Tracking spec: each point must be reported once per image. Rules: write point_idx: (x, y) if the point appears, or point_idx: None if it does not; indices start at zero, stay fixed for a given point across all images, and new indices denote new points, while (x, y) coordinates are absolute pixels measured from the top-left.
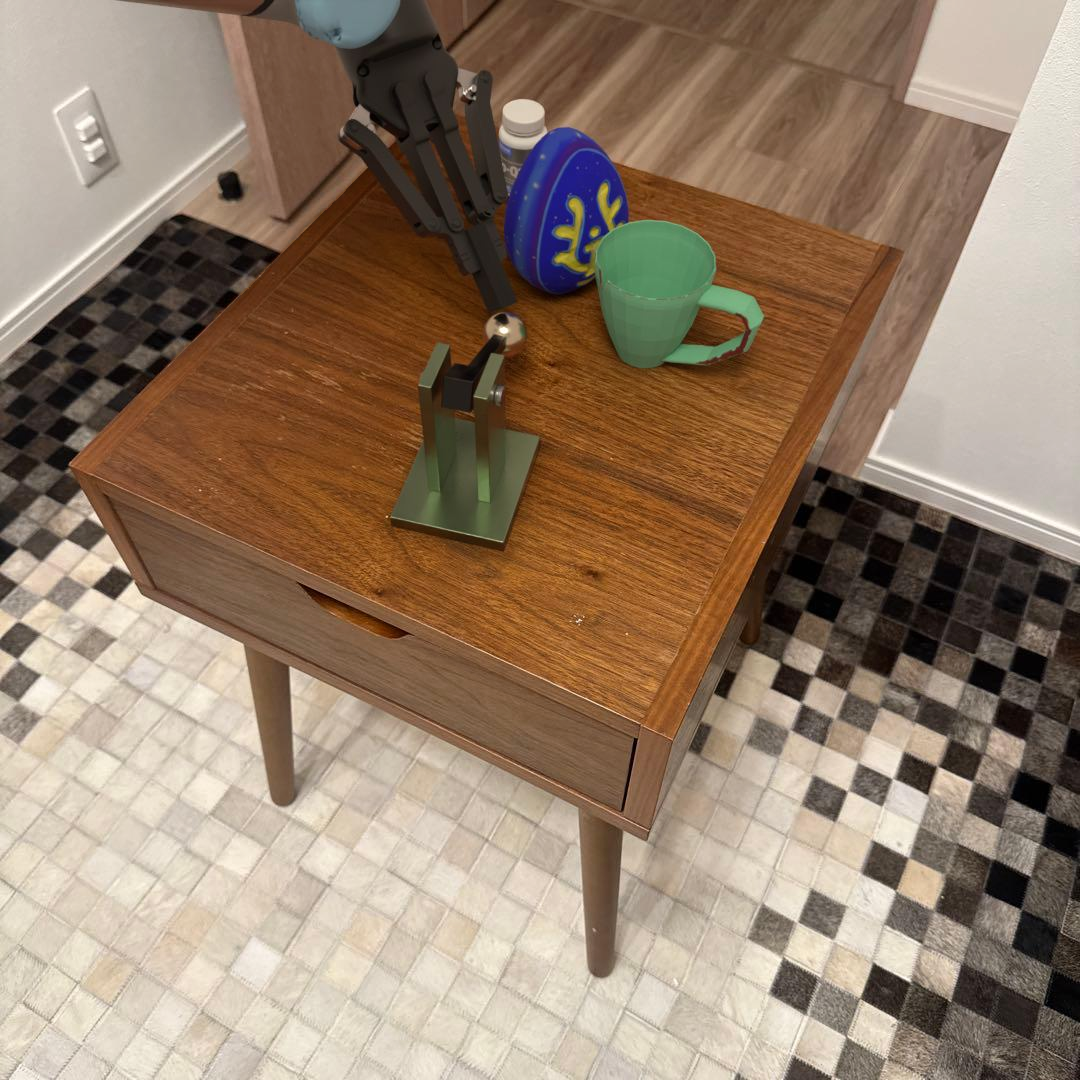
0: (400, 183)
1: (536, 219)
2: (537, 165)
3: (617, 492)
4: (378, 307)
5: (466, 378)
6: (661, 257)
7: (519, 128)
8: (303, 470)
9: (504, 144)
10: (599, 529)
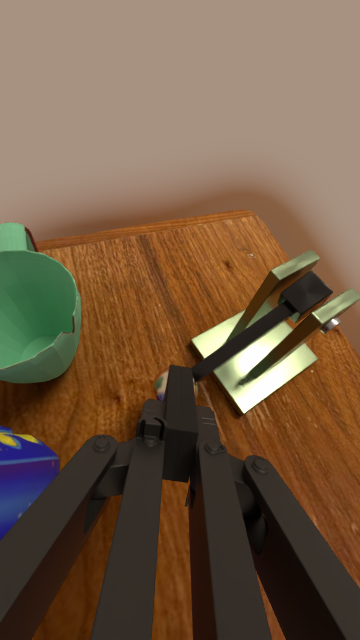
0: (337, 577)
1: (17, 474)
2: None
3: (177, 287)
4: (192, 629)
5: (313, 279)
6: None
7: None
8: (353, 452)
9: None
10: (205, 278)
